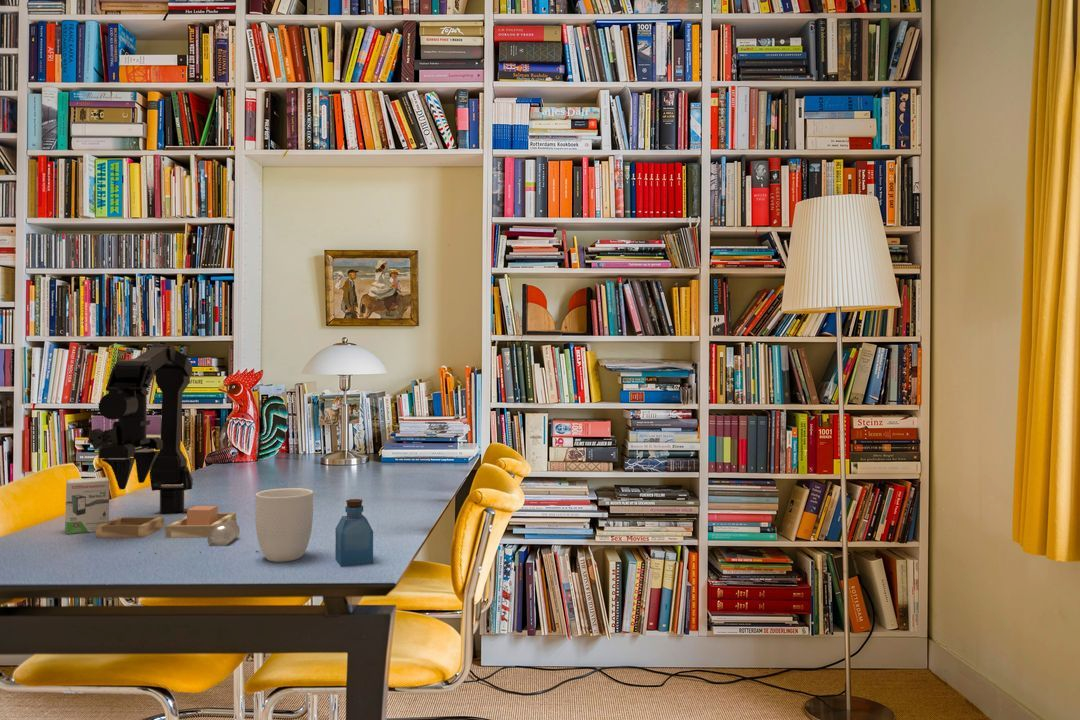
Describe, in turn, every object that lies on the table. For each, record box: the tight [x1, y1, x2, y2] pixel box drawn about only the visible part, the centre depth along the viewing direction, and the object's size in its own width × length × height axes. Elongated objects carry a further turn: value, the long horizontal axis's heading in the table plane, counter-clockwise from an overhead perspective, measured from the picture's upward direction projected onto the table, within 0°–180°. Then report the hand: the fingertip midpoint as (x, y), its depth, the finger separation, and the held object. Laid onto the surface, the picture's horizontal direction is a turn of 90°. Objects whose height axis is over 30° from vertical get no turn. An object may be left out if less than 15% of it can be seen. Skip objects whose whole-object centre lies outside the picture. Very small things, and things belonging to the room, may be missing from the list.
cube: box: [186, 505, 219, 525], centre depth 179 cm, size 5×5×5 cm
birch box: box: [164, 512, 237, 539], centre depth 179 cm, size 15×10×3 cm
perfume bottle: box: [334, 498, 374, 567], centre depth 155 cm, size 6×6×12 cm
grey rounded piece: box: [206, 521, 241, 547], centre depth 168 cm, size 7×4×4 cm, turn 3°
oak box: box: [95, 516, 165, 539], centre depth 176 cm, size 10×10×3 cm
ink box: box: [64, 476, 110, 535], centre depth 181 cm, size 9×5×12 cm, turn 123°
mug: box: [254, 487, 314, 563], centre depth 158 cm, size 15×11×13 cm
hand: (131, 485), depth 177 cm, fingers open, 9 cm apart
